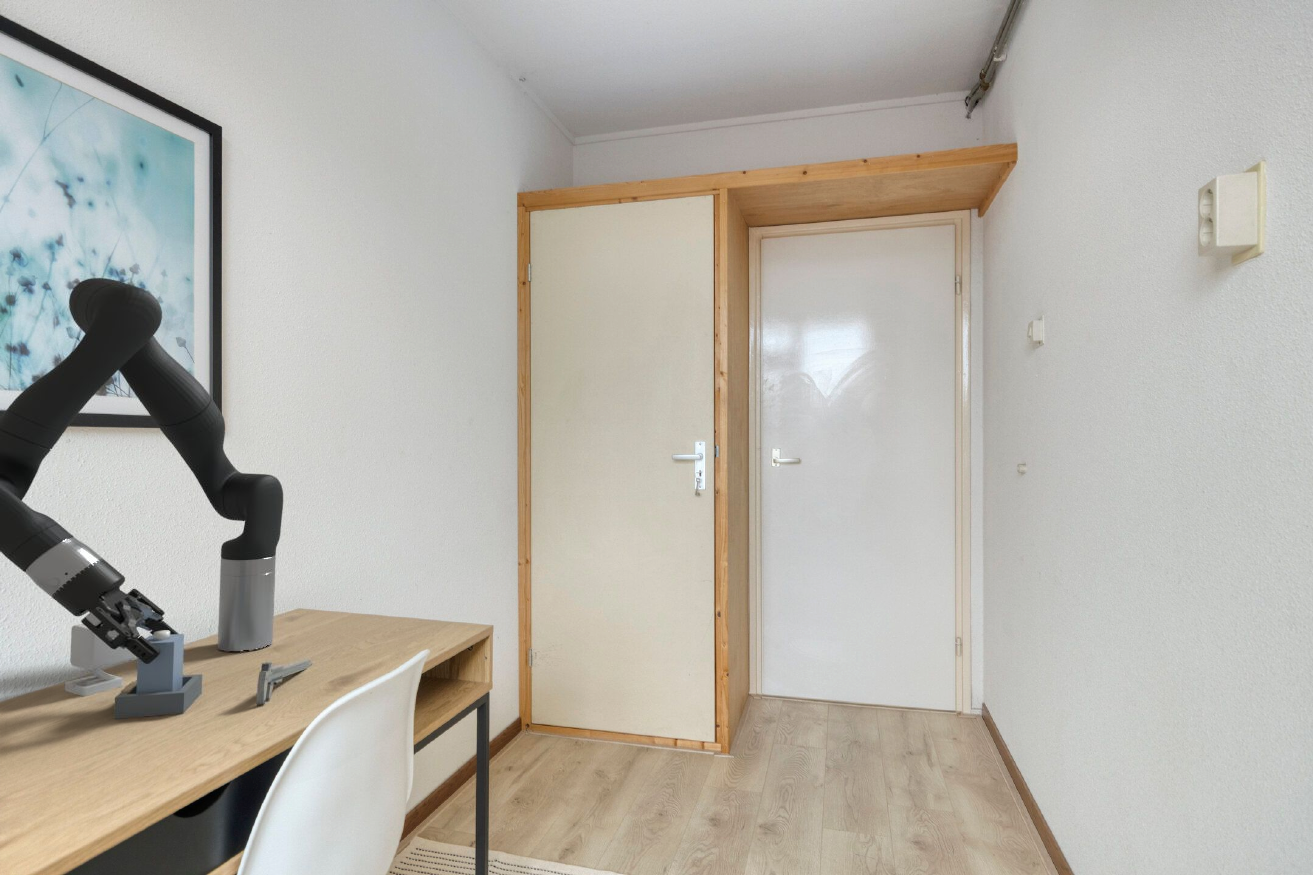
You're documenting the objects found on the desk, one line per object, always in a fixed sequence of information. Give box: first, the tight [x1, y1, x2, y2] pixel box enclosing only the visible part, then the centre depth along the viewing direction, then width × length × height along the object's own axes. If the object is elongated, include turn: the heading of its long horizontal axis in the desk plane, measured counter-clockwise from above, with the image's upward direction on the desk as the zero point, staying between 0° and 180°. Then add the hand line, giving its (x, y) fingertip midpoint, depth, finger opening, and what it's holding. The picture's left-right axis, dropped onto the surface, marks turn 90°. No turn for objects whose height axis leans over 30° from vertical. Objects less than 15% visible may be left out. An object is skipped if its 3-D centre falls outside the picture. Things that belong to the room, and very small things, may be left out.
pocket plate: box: [113, 673, 203, 720], centre depth 105 cm, size 9×8×3 cm
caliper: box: [256, 659, 313, 706], centre depth 116 cm, size 20×1×6 cm, turn 7°
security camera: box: [64, 623, 138, 697], centre depth 112 cm, size 6×7×10 cm
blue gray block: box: [136, 630, 185, 694], centre depth 105 cm, size 4×4×11 cm
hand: (165, 650), depth 105 cm, fingers open, 8 cm apart
